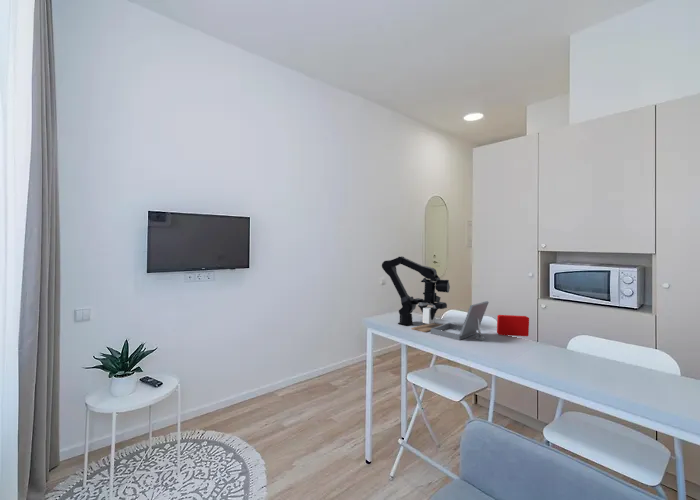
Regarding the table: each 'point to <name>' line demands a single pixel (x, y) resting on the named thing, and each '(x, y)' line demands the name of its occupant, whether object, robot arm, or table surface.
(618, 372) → the table surface
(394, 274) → the robot arm
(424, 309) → the block
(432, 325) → the walnut board
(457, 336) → the case
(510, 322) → the red flat block
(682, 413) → the table surface
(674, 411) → the table surface
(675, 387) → the table surface
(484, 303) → the case lid
